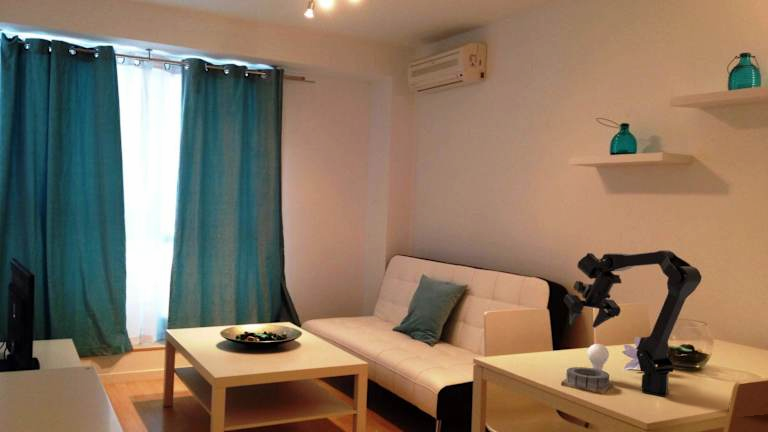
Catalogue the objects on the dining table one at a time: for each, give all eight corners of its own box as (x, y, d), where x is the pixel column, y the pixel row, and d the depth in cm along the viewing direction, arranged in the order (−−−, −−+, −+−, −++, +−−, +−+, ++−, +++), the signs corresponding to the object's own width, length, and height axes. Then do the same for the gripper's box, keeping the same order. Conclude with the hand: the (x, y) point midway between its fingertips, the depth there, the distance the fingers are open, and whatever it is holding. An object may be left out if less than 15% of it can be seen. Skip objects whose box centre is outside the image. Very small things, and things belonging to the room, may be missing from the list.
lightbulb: (604, 376, 210) (606, 342, 210) (609, 382, 204) (611, 346, 203) (584, 375, 210) (586, 341, 210) (588, 380, 204) (590, 345, 204)
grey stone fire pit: (613, 385, 200) (614, 372, 200) (602, 394, 190) (603, 380, 190) (573, 377, 207) (573, 364, 207) (560, 385, 197) (560, 372, 197)
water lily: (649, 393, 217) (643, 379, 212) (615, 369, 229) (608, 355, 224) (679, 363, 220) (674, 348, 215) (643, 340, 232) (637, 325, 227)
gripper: (612, 276, 223) (593, 313, 229) (565, 270, 217) (547, 308, 223) (630, 295, 213) (610, 334, 220) (581, 289, 207) (562, 329, 214)
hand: (582, 325), depth 220 cm, fingers open, 9 cm apart
